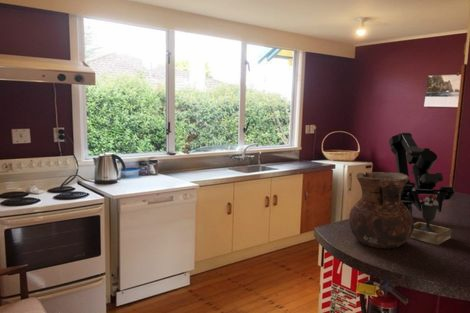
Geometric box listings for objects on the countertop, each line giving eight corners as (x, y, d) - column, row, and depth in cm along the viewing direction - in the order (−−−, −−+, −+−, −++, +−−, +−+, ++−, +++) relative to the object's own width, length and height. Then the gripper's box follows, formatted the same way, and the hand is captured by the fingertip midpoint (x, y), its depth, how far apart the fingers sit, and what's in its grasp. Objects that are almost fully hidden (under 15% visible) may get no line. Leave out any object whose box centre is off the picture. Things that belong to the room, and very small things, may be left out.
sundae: (441, 231, 137) (445, 192, 135) (429, 233, 134) (432, 193, 132) (426, 226, 143) (429, 188, 141) (413, 228, 140) (417, 189, 138)
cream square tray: (404, 236, 139) (404, 227, 139) (417, 230, 147) (418, 221, 146) (437, 245, 130) (438, 235, 129) (450, 238, 138) (451, 229, 137)
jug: (335, 235, 138) (339, 170, 135) (379, 230, 146) (383, 168, 143) (377, 257, 118) (382, 181, 115) (426, 249, 125) (432, 178, 122)
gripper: (402, 164, 140) (410, 199, 131) (454, 165, 138) (466, 201, 128) (395, 180, 149) (401, 214, 140) (444, 182, 146) (454, 216, 137)
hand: (430, 211), depth 136 cm, fingers closed on sundae, 6 cm apart
